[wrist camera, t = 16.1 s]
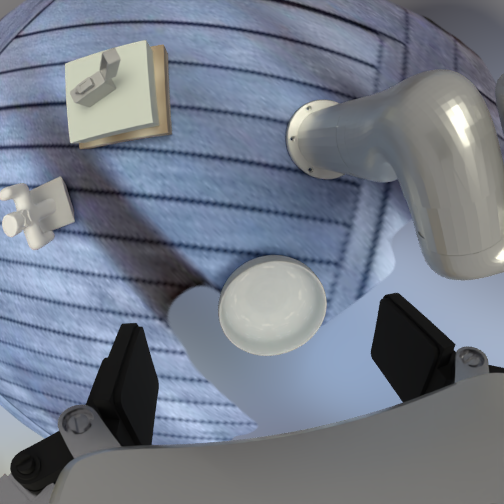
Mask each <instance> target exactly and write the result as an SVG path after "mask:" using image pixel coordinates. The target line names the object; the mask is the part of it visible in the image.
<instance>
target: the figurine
mask: <svg viewBox="0 0 504 504" xmlns="http://www.w3.org/2000/svg"><path fill="white" fill-rule="evenodd" d="M0 199H1V200H2V201H7V200H10V199H13V200H14V202H15V205H16V209H17V212H12V213H10V214H7V215H6V216H4V218H3V221H2V226H3V230H4V232H5V234H6V235H7V236H9V237H13V236H15V235H17V234H19V233H21V232H22V230H24V233H25V236H26V239H27V242H28V244H29V247H30V248H31V249H32V250H38V249H40V248H42V247H43V246H45V245H46V244H48V243H49V242H51V241H52V240H53V239H54V236H55V235H54V232H53V231H52V230H55V229H57V228H60V227H63V226H65V225H68V224H71V223H73V222H75V219H74V210H73V206H72V203H71V200H70V197H69V193H68V190H67V186H66V184H65V182H64V181H63V179H62V177H58V178H56V179H54V180H52V181H50V182H47V183H45V184H43V185H41V186H39V187H37V188H35V189H33V190H31V191H29V188H28V186H27V185H26V184H24V183H20V184H16V185H12V186H9V187H6V188H4V189H2V190H1V192H0Z"/></svg>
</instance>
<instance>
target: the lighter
mask: <svg viewBox="0 0 504 504" xmlns="http://www.w3.org/2000/svg"><path fill="white" fill-rule="evenodd" d="M120 60H121V59H120V56H119V54H118V53H117V51H116V49H115V48H112V49H109V50H107V51H104V52H102V56H101V62H100V69H99V70H100V71H98V72H96V73H95V74H93V75H92V76H90V77H87V78H86V79H85V80H83V81H82V82H81V83H79V84H78V85H77V86H76V87H75V88H74V89H73V90H71V91H70V95H71V97H72V99H73V101H74V103H77V104H80V105H84V106H87V107H91V106H92V105H94V104H95V103H97V102H98V101H100V100H101V99H102V98H104V97H105V96H107V95H108V94H110V93H111V92H113V91H114V90H116V86H115V84H114V82H113V81H112V79H111V78H113V77H116V75H117V71H118V67H119V64H120Z"/></svg>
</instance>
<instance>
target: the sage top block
mask: <svg viewBox="0 0 504 504" xmlns="http://www.w3.org/2000/svg"><path fill="white" fill-rule="evenodd" d="M115 49H116V51H117V53H118V54H119V56H120V59H121V60H120V64H119V67H118V71H117V75H116V77H113V78H111V79H112V81H113V82H114V84H115V86H116V90H114V91H113V92H111V93H110V94H108V95H107V96H105V97H104V98H102V99H101V100H100V101H98V102H97V103H95V104H94V105H92V106H91V107H87V106H84V105H80V104H77V103H74V101H73V99H72V97H71V95H70V91H71V90H73V89H74V88H75V87H76V86H77V85H78V84H79V83H81V82H82V81H83V80H85V79H86V78H87V77H90V76H92V75H93V74H95V73H96V72H98V71H100V70H99V69H100V62H101V56H102V52H104V51H102V52H99V53H95V54H92V55H89V56H86V57H83V58H80V59H77V60H74V61H72V62H69V63H66V64H65V81H66V102H67V116H68V127H69V136H70V143H87V142H90V141H94V140H98V139H102V138H105V137H109V136H113V135H118V134H122V133H126V132H131V131H135V130H140V129H145V128H150V127H155V126H160V125H159V116H158V106H157V96H156V85H155V74H154V60H153V51H152V49H151V48H150V46H149V44H148V43H147V41H146V40H144V41H140V42H135V43H131V44H127V45H123V46H119V47H116V48H115ZM105 51H107V50H105Z"/></svg>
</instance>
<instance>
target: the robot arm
mask: <svg viewBox="0 0 504 504" xmlns="http://www.w3.org/2000/svg"><path fill="white" fill-rule="evenodd" d="M495 96H496V104H497V109H498V113H499V117H500V122H501V126H502V130H503V134H504V74H502V75H501V77H500V78H499V79H498V81H497V83H496V87H495ZM306 108H308V109H309V110H306ZM291 137H292V141H291V140H290V138H291ZM286 144H287V149H288V152H289V154H290V157H291V158H292V160H293V162H294V163H295V164H296V165H297V166H298V168H299V169H301V170H302V171H303V172H305V173H306V174H308V175H310V176H312V177H316V178H320V179H334V178H338V177H341V176H343V175H345V174H346V175H350V176H354V177H358V178H362V179H366V180H370V181H375V182H391V181H394V180H397V179H398V181H399V183H400V186H401V189H402V192H403V195H404V197H405V199H406V201H407V204H408V207H409V210H410V213H411V216H412V220H413V223H414V226H415V230H416V233H417V237H418V241H419V244H420V247H421V250H422V254H423V256H424V258H425V261H426V262H427V264H428V265H429V267H430V268H431V269H432V270H433V271H434V272H435V273H437V274H438V275H440V276H442V277H445V278H448V279H452V280H473V279H479V278H484V277H488V276H492V275H495V274H499V273H502V272H504V164H503V159H502V154H501V150H500V146H499V141H498V138H497V134H496V130H495V127H494V124H493V121H492V118H491V115H490V112H489V110H488V108H487V106H486V103H485V101H484V100H483V98H482V96H481V95H480V93H479V91H478V90H477V89H476V87H475V86H474V85H473V84H472V83H471V82H470V81H469V80H468V79H467V78H465V77H464V76H462V75H461V74H459V73H457V72H454V71H450V70H431V71H425V72H422V73H419V74H416V75H414V76H411V77H409V78H407V79H405V80H403V81H402V82H400V83H398V84H396V85H394V86H393V87H391V88H389V89H386V90H384V91H382V92H379V93H376V94H373V95H370V96H366V97H362V98H359V99H355V100H351V101H347V102H344V103H340V104H339V103H337V102H334V101H330V100H316V101H312V102H309V103H307V104H305V105H303V106H302V107H300V108H299V109H298V110H297V111H296V112H295V113H294V114H293V116H292V117H291V119H290V121H289V123H288V126H287V131H286ZM309 168H310V169H311V170H310V171H308V169H309ZM454 347H455V344H454V343H453V342H452V341H451V340H450V339H449V338H448V337H447V336H446V335H445V334H444V333H443V332H441V331H440V330H439V329H438V328H437V327H436V326H435V325H434V324H433V323H432V322H431V321H430V320H428V319H427V318H426V317H425V316H424V315H423V314H422V313H420V312H419V311H418V310H417V309H416V308H415V307H414V306H413V305H412V304H410V303H409V302H408V301H407V300H406V299H405V298H404V297H402V296H401V295H400V294H399V293H393V294H388V295H385V296H384V297H383V299H381V301H380V305H379V311H378V317H377V322H376V328H375V333H374V339H373V343H372V348H371V357H372V359H373V360H374V362H375V363H376V365H377V366H378V367H379V369H380V370H381V372H382V373H383V374H384V375H385V377H386V379H387V380H388V382H389V383H390V384H391V386H392V387H393V389H394V390H395V392H396V393H397V394H398V396H399V397H400V399H401V400H402V402H403V403H401V404H398V405H395V406H392V407H389V408H386V409H382V410H379V411H376V412H373V413H370V414H366V415H363V416H359V417H355V418H352V419H348V420H344V421H340V422H336V423H332V424H328V425H324V426H319V427H315V428H310V429H306V430H300V431H295V432H290V433H284V434H278V435H272V436H265V437H258V438H250V439H243V440H233V441H222V442H210V443H195V444H174V445H152V436H153V427H154V419H155V411H156V404H157V396H158V389H159V383H158V378H157V375H156V372H155V368H154V365H153V362H152V358H151V355H150V351H149V348H148V344H147V341H146V337H145V333H144V330H143V327H138V325H137V323H127V324H122V325H121V327H120V329H119V332H118V334H117V336H116V339H115V341H114V344H113V346H112V349H111V351H110V354H109V356H108V358H104V359H103V361H102V363H101V366H100V368H99V371H98V374H97V376H96V379H95V381H94V384H93V387H92V389H91V392H90V395H89V398H88V400H87V403H86V405H75V406H72V407H70V408H68V409H66V410H65V411H64V412H63V413H62V414H61V415H60V417H59V419H58V428H59V431H58V432H56V433H54V434H53V435H51V436H49V437H47V438H45V439H43V440H42V441H40V442H38V443H36V444H34V445H33V446H31V447H29V448H27V449H25V450H23V451H21V452H19V453H18V454H17V455H16V456H15V457H14V458H13V460H12V463H11V468H10V469H11V474H10V475H9V476H7V475H6V474H4V475H3V476H2V477H1V478H0V504H504V368H501V367H496V366H492V365H488V359H487V357H486V355H485V354H484V353H483V352H482V351H481V350H479V349H477V348H474V347H462V348H460V349H458V351H457V352H455V351H454Z"/></svg>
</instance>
